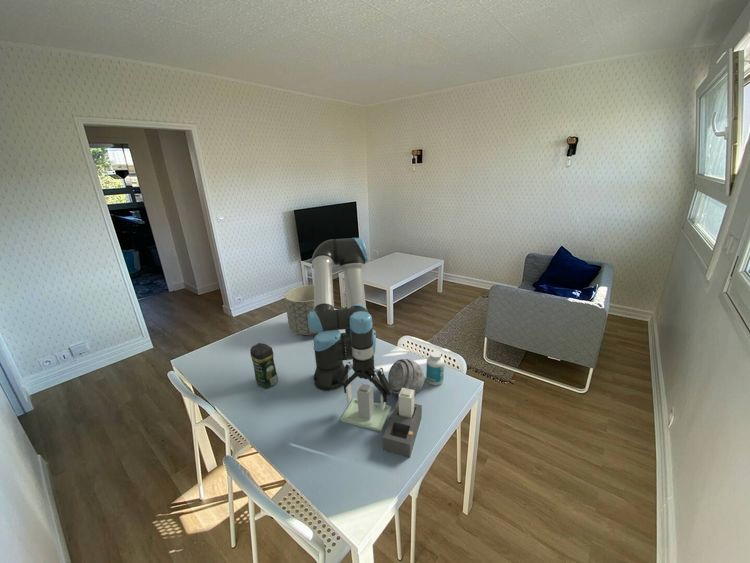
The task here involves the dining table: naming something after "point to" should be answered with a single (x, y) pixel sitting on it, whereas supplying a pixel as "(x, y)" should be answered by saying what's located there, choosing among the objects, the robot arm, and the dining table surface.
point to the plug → (365, 401)
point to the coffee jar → (264, 365)
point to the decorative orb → (405, 376)
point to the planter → (300, 308)
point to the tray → (374, 423)
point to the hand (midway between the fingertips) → (366, 404)
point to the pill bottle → (435, 368)
